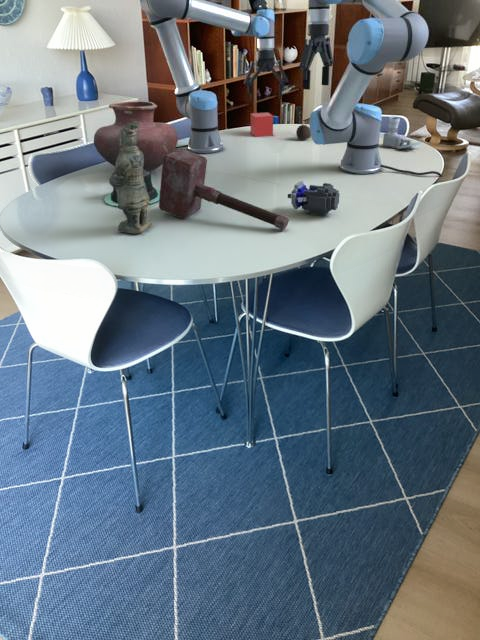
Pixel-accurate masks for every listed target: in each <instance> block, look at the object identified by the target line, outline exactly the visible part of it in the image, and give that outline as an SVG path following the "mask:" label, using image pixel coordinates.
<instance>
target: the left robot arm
mask: <svg viewBox="0 0 480 640" xmlns="http://www.w3.org/2000/svg"><path fill="white" fill-rule="evenodd" d="M139 5H140V7H141V10H142V12H143V13H144V14H145V15H146V17H147V19H148V22H149V25H150V27H151V28H153V29H155V31H156V34H157V36H158V39H159V42H160V44H161V48H162V51H163V53H164V56H165V59H166V62H167V65H168V67H169V70H170V73H171V76H172V79H173V82H174V84H175V87H176V88H175V90H174V95H175V98H176V108H177V110H178V111H179V113H180V114H181V115H182V116H183V117H185V118H186V119H188V120H190V121H189V122H190V134H189V135H190V136H189V139H188V144H184V145H178V146H177V145H176V147H175V149H174V150H179V149H184V148H187V151H190V152H192V153H195V154H214V153H218V152H221V151H223V150H224V142H223V140H222V138H221V135H220V133H219V122H218V121H219V119H218V98H217V95H216V93H214V92H213V91H210V90H209V91H208V90H202V86H201V84H200V83H199V82H198V81H196V79H195V77H194V72H193V71H192V66H191V64H190V62H189V58H188V55H187V52H186V49H185V46H184V43H183V41H182V37H181V34H180V31H179V28H178V25H177V23H176V22H177V19H178V20H179V19H180V20H183V21H185V20H186V19H189V20H193V21H198V22H201V23H204V24H207V25H211V26H215V27H219V28H222V29H226V30H229V31H231V34H232V35H233V36H234V37H242V36H243V37H253V38H257V39H256V40H257V44H256V46H257V47H256V48H257V51H256V53H257V56H256V57H257V61H252V60H251V61H250V64H249V69H248V71H247V73H246V76H245V78H244V80H243V84H244V85H246V86H247V93H248V94H249V99H250V102H253V101H254V88H253V85H252V84H253V83H254V81H255V80H256V79H257V77H258V76H259V75H260V74H261V73H273V75H274V76H275V78H276V79H277V80H278V81H279V82H280V83H278V100H280V101H281V100H282V99H283V92H285V84H286V83H288V82H289V79H288V76H287V75H286V72H285V70H284V68H283V66H282V60H280V59H278V60H275V50H274V49H275V23H276V21H275V20H276V19H275V11H274V10H273V9H258V10H256V14H251V13H248V12H245V11H241V10H238V9H235V8H232V7H228V6H226V5H221V4H219V3H214V2H211V1H208V0H139ZM256 66H257V69H256V71H255V72H254V74H253V75H252V73H253V71H254V68H255V67H256ZM275 66H276V67H278V70H279V72H280V74H281V75H280V74H279V73H278V72H277V70H275ZM251 75H252V76H251Z"/></svg>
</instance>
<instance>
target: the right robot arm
mask: <svg viewBox="0 0 480 640" xmlns="http://www.w3.org/2000/svg"><path fill="white" fill-rule="evenodd" d="M337 4H361V5H362V6H363V7H365V9H366V10H367V11H368V12H370V14H371V15H372V16H373V17H368V18H363V19H359V20H358V21H356V23H355V24H354V25H352V27H351V29H350V31H349V34H348V36H347V37H348V38H347V39H348V41H347V43H346V55H347V58H348V60H349V62H348V65H347V67H346V68H345V71H344V73H343V74H342V76H341V78H340V80H339V82H338V84H337V86H336V88H335V90H334V92H333V94H332V96H331V98H330V100H327V101H326V102H324V103H323V104H322V106H321V108H320V110H314V111H311V113H310V114H309V123H308V124H309V125H308V126H309V127H310V134H311V137H310V138H311V140H312V142H313V143H314V144H315V145H318V146H319V145H323V146H325V145H334V144H346V149H345V151H344V154H343V156H342V158H341V160H340V170H341V171H343V172H345V173H349V174H355V175H356V174H357V175H369V174H370V175H371V174H376V173H378V172H380V171H382V168H383V169H386V170H391V171H394V172H398V173H402V174H403V173H404V174H409V175H414V176H426V175H431V174H433V175H437V176H439V177H440V178H444V176H443V174H442V173H441V172H439V171H435V170H429V171H424V172H415V171H411V170H406V169H405V170H403V169H399V168H395V167H392V166H388V165H385V164H382V161H381V155H380V150H379V147H380V145H379V144H380V138H381V137H380V136H381V129H382V128H381V127H382V121H383V120H382V116H383V114H382V113H383V112H382V109H381V107H379V106H377V105H372V104H366V103H359V101H360V100H361V98H362V96H363V95H364V93H365V92H366V90H367V88H368V87H369V85H370V83H371V81H372V80H373V78H374V76H377V75H379V74H381V73H382V72H383V71H384V70H385V68H386V66H387V65H388V64H389V63H400V62H401V63H402V62H408V61H411V60H413V59H414V58H417V56H419V55H420V54H421V53H422V51H423V50H425V47H426V45H427V44H428V41H429V35H430V33H429V32H430V30H429V26H428V24H427V22H426V20H425V19H424V17H423V16H421V14H420V13H418V12H416V11H413V10H408V8H407V7H406V6H404V5H403V4H402V3H401V2H400V1H399V0H308V6H307V7H308V8H307V9H308V10H307V11H308V12H307V23H309V24H307V36H309V38H305V39H304V45H303V51H302V55H301V57H300V62H299V66H298V68H299V69H300V71H302V90H306V91H307V90H308V91H310V90H311V74H312V73H311V72H312V71H311V70H312V69H311V66H312V63H313V61H314V59H315V56H316V54H319V56H320V59H321V62H322V65H323V66H322V69H321V86H329V84H330V67H333V64H334V58H333V54H332V53H333V52H332V46H331V37H330V36H329V37H327V36H328V35H329V32H330V31H329V30H330V29H329V28H330V25H329V22H330V11H331V10H330V9H331V5H337Z"/></svg>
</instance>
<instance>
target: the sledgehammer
mask: <svg viewBox="0 0 480 640" xmlns="http://www.w3.org/2000/svg"><path fill="white" fill-rule="evenodd" d="M207 164H208V159H207V158H206V157H205V156H203V155H201V154H199V153H193V152H190V151H188V149H187V150H186V149H184V148H178V149H176V150H174V152H172V153H170V154H167V155H165V156H164V158H163V165H161V166H162V167H161V176H160V187H159V190H160V198H159V200H158V208H159V210H160V211H162V212H165V213H168V214H170V215H173V216H174V217H177V218H180V219H182V220H185V219H187V218H188V217H190V216H192V215H193V214H195V213H197V212H198V211H199V210H200V209H201V207H202V201H203V200H204V201H207V202H209V203H213V204H215V205H220V206H223V207H225V208H228V209H231V210H233V211H236V212H239V213H241V214H243V215H245V216H248V217H252V218H255V219H257V220H260V221H262V222H264V223H267V224H270V225H273V226H274V228H276V229H280V230H282V231H285V230H286V228H287V227H288V224H289V221H290V218H289V217H288V216H286V215H283V214H281V213H279V214H277V213H275V212H273V211H269V210H267V209H265V208H262V207H259V206H256V205H254V204H251V203H248V202H246V201H244V200H242V199H238V198H236V197H233V196H231V195H228V194H225V193H223V192H222V191H220V190H218V189H215V188H214V187H211V186H208V185H205V181H206V175H207Z"/></svg>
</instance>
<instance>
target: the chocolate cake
mask: <svg viewBox="0 0 480 640" xmlns="http://www.w3.org/2000/svg"><path fill="white" fill-rule="evenodd" d="M113 175H114V171H112V173H111V176H113ZM143 178H144V182H145V184H146V188H147V192H148V195H149V197H150V204H154V203H157V202H159V198H160V188H156V187H154V185H153V182H152V174H151V172H150V171H148V172H147V171H146V170H144V169H143ZM103 200H104V202H105V203H106V204H108V205H109V206H115V207H118V202H117V192H116V189H115V188H114V187H112V191H111V193H108V194H107V195H106V196H104V198H103ZM150 204H149V205H150Z"/></svg>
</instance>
